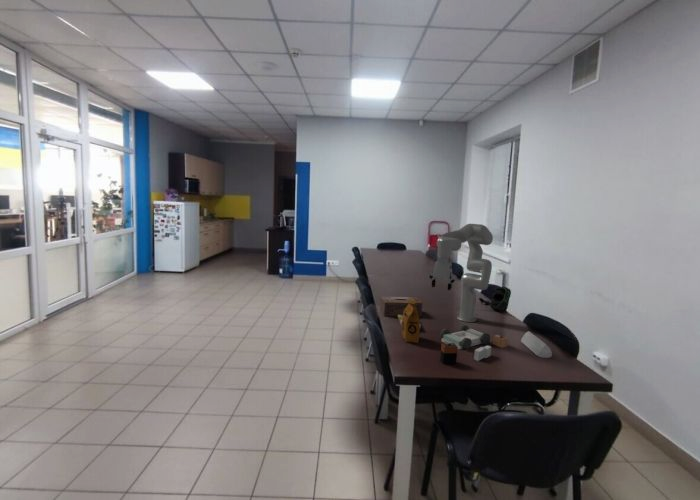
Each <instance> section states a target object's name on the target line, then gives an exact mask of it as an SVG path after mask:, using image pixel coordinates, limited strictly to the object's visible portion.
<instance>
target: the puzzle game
mask: <svg viewBox="0 0 700 500" xmlns="http://www.w3.org/2000/svg"><path fill="white" fill-rule="evenodd" d="M397 318H398V322H399V324H400V327H401V328H402V320H403V315H398V316H397ZM421 329H422V325H421V324H420V330H421Z"/></svg>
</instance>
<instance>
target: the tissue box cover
mask: <svg viewBox="0 0 700 500" xmlns="http://www.w3.org/2000/svg"><path fill="white" fill-rule="evenodd" d="M409 299H411V300H413V301H414V302H415V307H416V310H417V313H418V316H419V318H422V312H423V302H422V301H421V300H420V299H419V298H418V297H416V296H413V297H412V296H380V304H379V305H380V306H379V311H380V312H381V313H382V316H383V317H398V315H403V312H404V310H405V308H406V307H407V305H408V304H409V301H408V300H409Z"/></svg>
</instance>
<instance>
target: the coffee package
mask: <svg viewBox="0 0 700 500" xmlns="http://www.w3.org/2000/svg"><path fill="white" fill-rule="evenodd" d="M408 301H409V304H408V305H407V307H406V308H405V310H404V312H403V320H402V327H401V336H402V338H403V339H404V340H405V342H406V343H415V344H417V343H419V340H420V331H421V329H420V325H421V323H420V317H419V316H418V313H417V310H416V307H415V302H414V301H413V300H411V299H409V300H408Z"/></svg>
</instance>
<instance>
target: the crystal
mask: <svg viewBox="0 0 700 500" xmlns="http://www.w3.org/2000/svg"><path fill="white" fill-rule="evenodd" d="M520 342H521V343H522V344H524V345H525V346H526V347H527V348H528V350H530V351H531V352H532V353H534V354H535V355H536V356H537V357H539V358H544V359H548V358H549V359H550V358H551V357H552V356H553V352H552V350H551V347H550V346H548V344H546V343H545V342H544V341H542V340H541V339H540V338H539V337H537V336H536V335H534V334H533V333H532V332H531V331H526V332H525V333H524V335H523V336H522V338H521V341H520Z"/></svg>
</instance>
